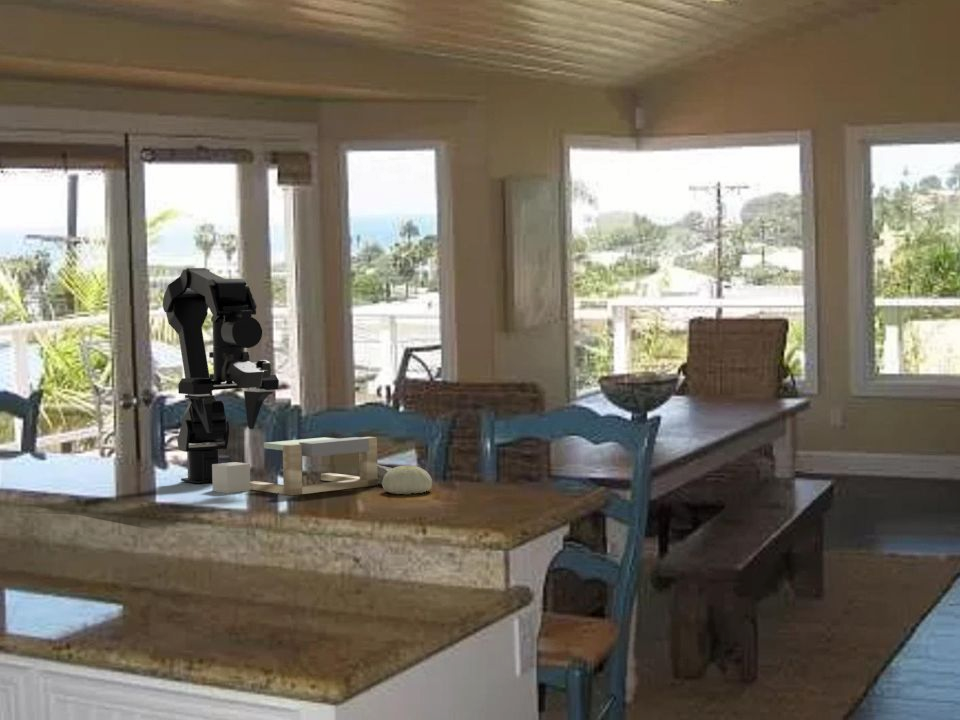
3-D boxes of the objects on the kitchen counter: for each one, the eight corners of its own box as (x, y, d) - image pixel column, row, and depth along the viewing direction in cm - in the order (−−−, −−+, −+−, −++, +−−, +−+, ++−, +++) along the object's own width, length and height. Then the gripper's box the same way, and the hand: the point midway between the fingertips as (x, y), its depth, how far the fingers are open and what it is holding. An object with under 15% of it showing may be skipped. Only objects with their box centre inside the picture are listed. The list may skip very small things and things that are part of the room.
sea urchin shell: (441, 479, 285) (430, 451, 280) (431, 513, 280) (419, 486, 275) (395, 477, 288) (383, 450, 283) (384, 511, 283) (372, 484, 278)
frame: (245, 488, 290) (244, 440, 290) (330, 478, 304) (329, 433, 303) (291, 495, 279) (290, 445, 279) (377, 485, 293) (376, 437, 292)
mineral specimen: (393, 485, 301) (392, 463, 301) (425, 486, 291) (424, 463, 291) (363, 486, 297) (363, 464, 297) (395, 487, 287) (394, 464, 287)
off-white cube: (212, 491, 288) (212, 464, 288) (235, 488, 292) (234, 461, 291) (227, 493, 285) (226, 466, 284) (250, 490, 288) (249, 463, 288)
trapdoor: (263, 451, 290) (263, 439, 290) (324, 446, 300) (324, 433, 300) (310, 457, 280) (309, 443, 280) (371, 451, 289) (371, 438, 289)
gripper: (209, 349, 275) (211, 437, 276) (295, 345, 287) (297, 429, 288) (175, 348, 283) (177, 433, 284) (261, 344, 296) (262, 426, 296)
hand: (230, 430), depth 288 cm, fingers open, 9 cm apart
